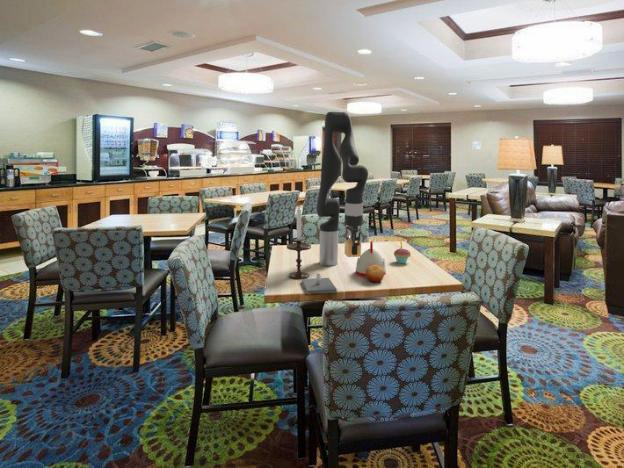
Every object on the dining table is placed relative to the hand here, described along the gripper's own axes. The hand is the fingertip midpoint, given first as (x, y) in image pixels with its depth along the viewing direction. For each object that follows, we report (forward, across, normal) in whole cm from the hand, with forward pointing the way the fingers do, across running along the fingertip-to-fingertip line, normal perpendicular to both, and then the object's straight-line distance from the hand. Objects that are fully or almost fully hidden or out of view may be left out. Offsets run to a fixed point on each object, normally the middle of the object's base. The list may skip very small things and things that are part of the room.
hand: (352, 252), depth 183 cm
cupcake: (+15, -32, +35) cm, 49 cm away
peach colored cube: (+1, 0, 0) cm, 1 cm away
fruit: (+14, -3, +11) cm, 18 cm away
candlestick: (+14, -15, -21) cm, 29 cm away
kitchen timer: (+14, -15, +13) cm, 24 cm away
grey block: (+14, +2, -15) cm, 21 cm away
